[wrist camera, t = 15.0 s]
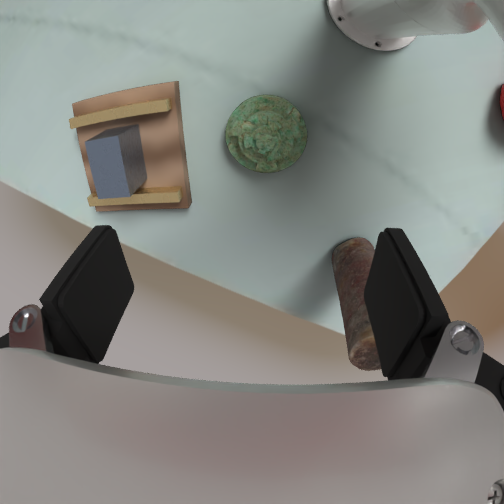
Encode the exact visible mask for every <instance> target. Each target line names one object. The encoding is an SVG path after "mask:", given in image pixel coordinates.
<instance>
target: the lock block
mask: <svg viewBox="0 0 504 504" xmlns="http://www.w3.org/2000/svg"><path fill="white" fill-rule="evenodd" d="M85 146H86V151H87V156H88V160H89V164H90V169H91V173H92V177H93V181H94V185H95V188H96V192H97V196H98V199H107V198H122V197H131V196H132V195H133V194H134V192H135V191H136V190H137V189H138V188H139V187H140V186H141V185H142V184H143V183H144V181H145V180H146V179H147V178H148V177H147V172H146V166H145V161H144V155H143V149H142V143H141V136H140V129H139V124H134V125H128V126H122V127H116V128H111V129H107V130H105V131H103V132H101V133H99V134H98V135H96V136H94V137H92V138H90V139H89V140H87V141H85Z"/></svg>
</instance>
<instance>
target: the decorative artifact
mask: <svg viewBox="0 0 504 504" xmlns="http://www.w3.org/2000/svg"><path fill="white" fill-rule="evenodd" d="M306 142H307V129H306V125H305V122H304V120H303V118H302V116H301V114H300V113H299V111H298V110H297V109H296V107H295V106H294V105H292V104H291V103H290V102H288V101H287V100H285V99H283V98H281V97H278V96H274V95H259V96H254V97H251V98H249V99H247V100H245V101H244V102H242V103H241V104H240V105H239V106H238V107H237V108H236V109H235V110H234V112H233V113H232V114H231V116H230V118H229V120H228V123H227V126H226V143H227V146H228V149H229V151H230V153H231V154H232V156H233V157H234V158H235V159H236V160H237V161H238V162H239V163H240V164H241V165H243V166H244V167H246V168H248V169H250V170H253V171H256V172H261V173H272V172H278V171H281V170H284V169H286V168H288V167H289V166H291V165H292V164H294V163H295V162H296V161H297V160H298V159H299V157H300V156H301V154H302V153H303V151H304V149H305V146H306Z"/></svg>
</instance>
